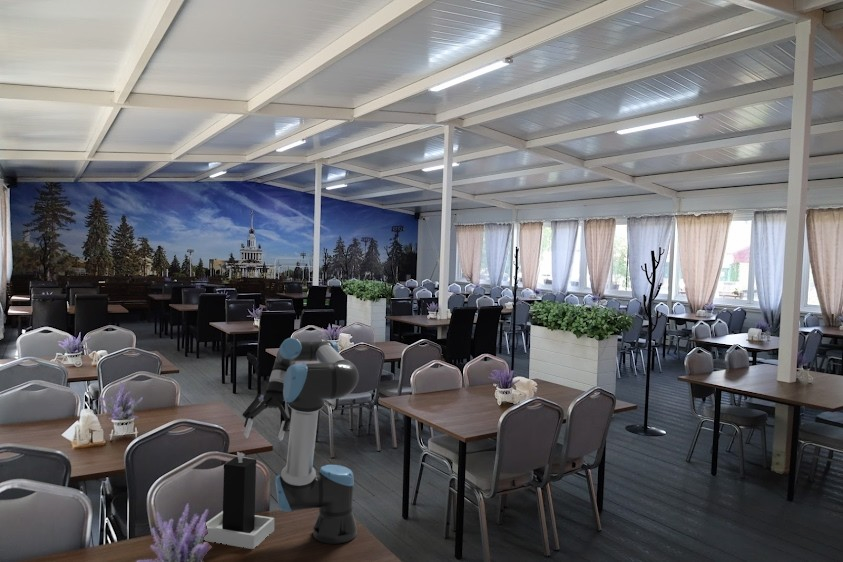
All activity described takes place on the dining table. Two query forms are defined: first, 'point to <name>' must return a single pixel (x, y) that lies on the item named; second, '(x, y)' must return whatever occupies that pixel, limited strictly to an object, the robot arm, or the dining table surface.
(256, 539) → the tray
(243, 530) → the black tall block
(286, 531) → the dining table surface
